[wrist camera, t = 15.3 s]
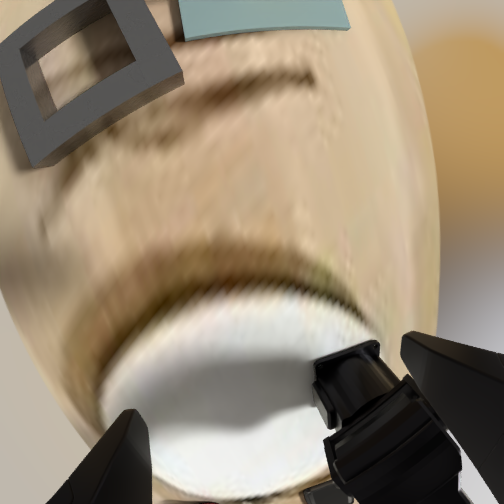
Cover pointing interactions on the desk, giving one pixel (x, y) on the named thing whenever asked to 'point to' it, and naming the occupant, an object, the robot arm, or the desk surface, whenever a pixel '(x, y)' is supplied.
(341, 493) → the phone
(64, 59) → the desk surface
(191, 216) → the desk surface
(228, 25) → the rubber mat
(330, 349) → the desk surface
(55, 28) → the square-hole plate
